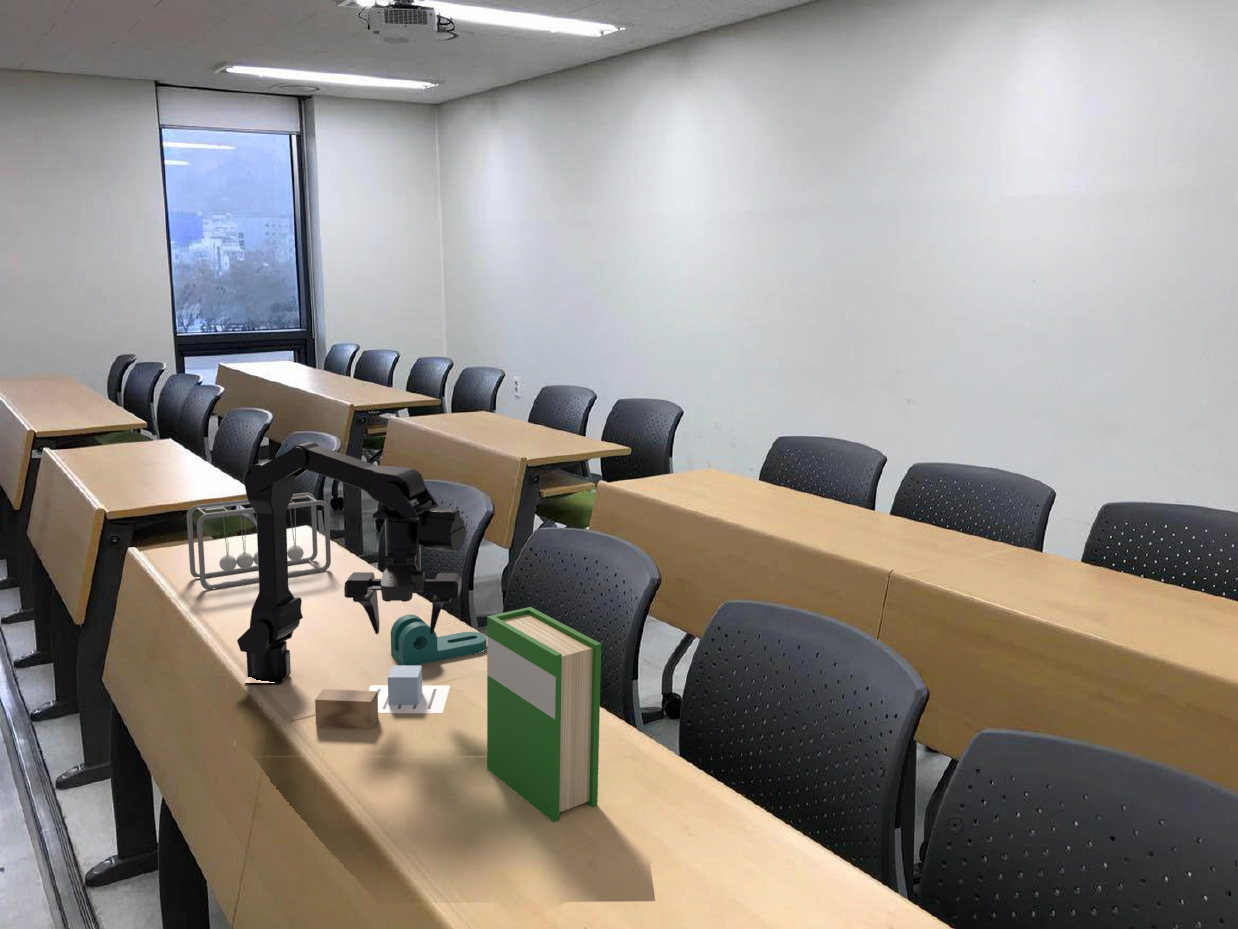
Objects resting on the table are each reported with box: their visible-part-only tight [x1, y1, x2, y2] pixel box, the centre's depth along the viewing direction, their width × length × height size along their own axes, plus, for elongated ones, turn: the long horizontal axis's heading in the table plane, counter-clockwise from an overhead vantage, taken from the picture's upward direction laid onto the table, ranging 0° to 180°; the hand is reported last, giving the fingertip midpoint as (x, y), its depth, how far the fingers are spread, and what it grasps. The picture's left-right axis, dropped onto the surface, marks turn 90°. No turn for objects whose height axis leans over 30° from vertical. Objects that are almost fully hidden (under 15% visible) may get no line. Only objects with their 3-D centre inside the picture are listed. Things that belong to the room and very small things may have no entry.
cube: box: [387, 664, 423, 705], centre depth 169 cm, size 5×5×5 cm
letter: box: [368, 684, 451, 714], centre depth 169 cm, size 14×11×1 cm
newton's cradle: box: [186, 492, 332, 590], centre depth 232 cm, size 30×10×18 cm, turn 126°
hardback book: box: [486, 606, 602, 823], centre depth 140 cm, size 18×7×24 cm, turn 38°
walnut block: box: [314, 688, 379, 730], centre depth 160 cm, size 9×4×5 cm, turn 88°
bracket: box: [390, 614, 487, 666], centre depth 189 cm, size 18×7×8 cm, turn 121°
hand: (404, 633), depth 167 cm, fingers open, 9 cm apart
